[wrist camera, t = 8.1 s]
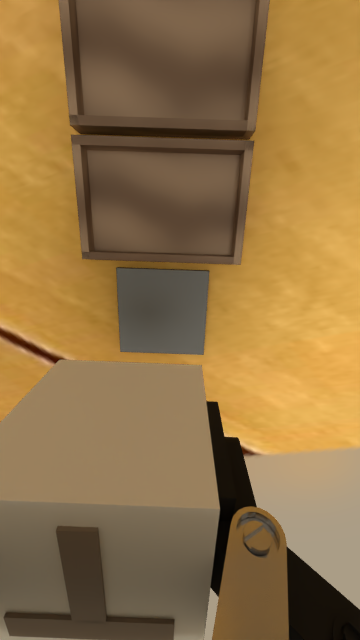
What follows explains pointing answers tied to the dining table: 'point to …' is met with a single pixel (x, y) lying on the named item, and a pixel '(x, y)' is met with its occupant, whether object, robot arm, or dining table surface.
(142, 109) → the tray
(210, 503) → the letter cube
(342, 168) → the dining table surface
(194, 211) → the tray
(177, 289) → the coaster
